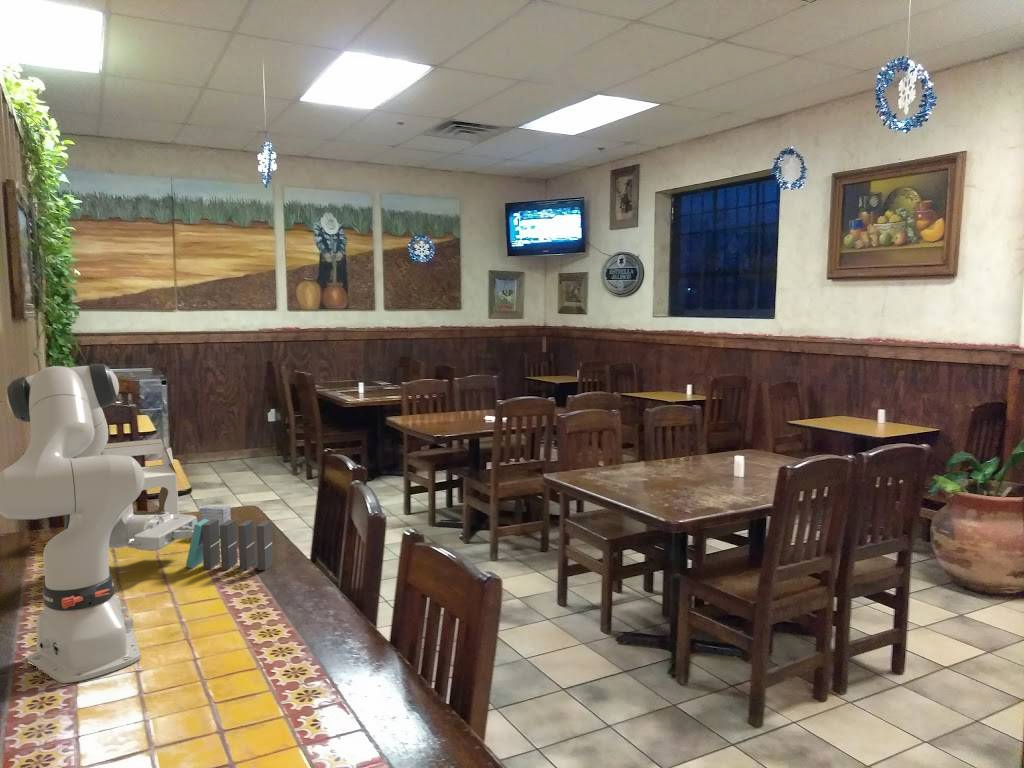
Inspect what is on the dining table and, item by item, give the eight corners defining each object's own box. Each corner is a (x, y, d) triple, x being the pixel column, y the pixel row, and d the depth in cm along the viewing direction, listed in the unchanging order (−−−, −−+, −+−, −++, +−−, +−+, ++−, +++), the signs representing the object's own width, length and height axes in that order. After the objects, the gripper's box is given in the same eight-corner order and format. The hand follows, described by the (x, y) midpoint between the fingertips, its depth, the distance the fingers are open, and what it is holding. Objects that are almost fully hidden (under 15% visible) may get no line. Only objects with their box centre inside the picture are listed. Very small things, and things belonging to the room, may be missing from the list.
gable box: (99, 541, 213) (93, 448, 210) (95, 530, 224) (89, 441, 221) (180, 528, 226) (175, 440, 223) (173, 518, 237) (168, 434, 234)
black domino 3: (255, 563, 194) (253, 520, 192) (247, 570, 189) (245, 525, 187) (248, 563, 194) (246, 520, 193) (239, 569, 189) (237, 525, 188)
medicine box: (232, 532, 221) (230, 504, 220) (224, 536, 217) (223, 508, 216) (207, 531, 222) (206, 504, 221) (200, 536, 217) (198, 508, 217)
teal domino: (202, 562, 195) (211, 520, 193) (192, 568, 190) (201, 526, 188) (195, 559, 195) (204, 518, 193) (185, 566, 190) (194, 524, 189)
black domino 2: (237, 563, 194) (235, 519, 193) (229, 569, 189) (226, 525, 188) (230, 562, 194) (228, 519, 193) (221, 569, 189) (219, 525, 188)
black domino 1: (220, 562, 194) (218, 519, 193) (210, 569, 189) (209, 525, 188) (213, 562, 195) (211, 519, 193) (203, 568, 190) (201, 524, 188)
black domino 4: (273, 564, 193) (271, 520, 192) (265, 570, 188) (263, 526, 187) (266, 563, 193) (264, 520, 192) (258, 570, 188) (256, 526, 187)
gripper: (121, 532, 182) (173, 533, 181) (167, 510, 202) (213, 511, 201) (123, 556, 183) (174, 557, 181) (168, 531, 203) (215, 532, 202)
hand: (195, 532), depth 191 cm, fingers closed
